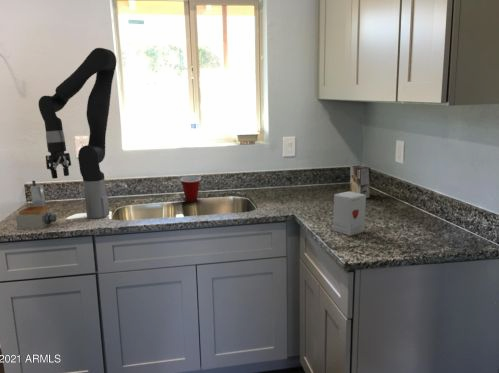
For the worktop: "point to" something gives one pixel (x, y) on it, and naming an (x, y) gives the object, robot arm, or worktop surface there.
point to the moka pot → (37, 195)
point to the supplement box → (349, 213)
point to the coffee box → (360, 180)
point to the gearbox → (35, 217)
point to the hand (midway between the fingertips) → (60, 177)
